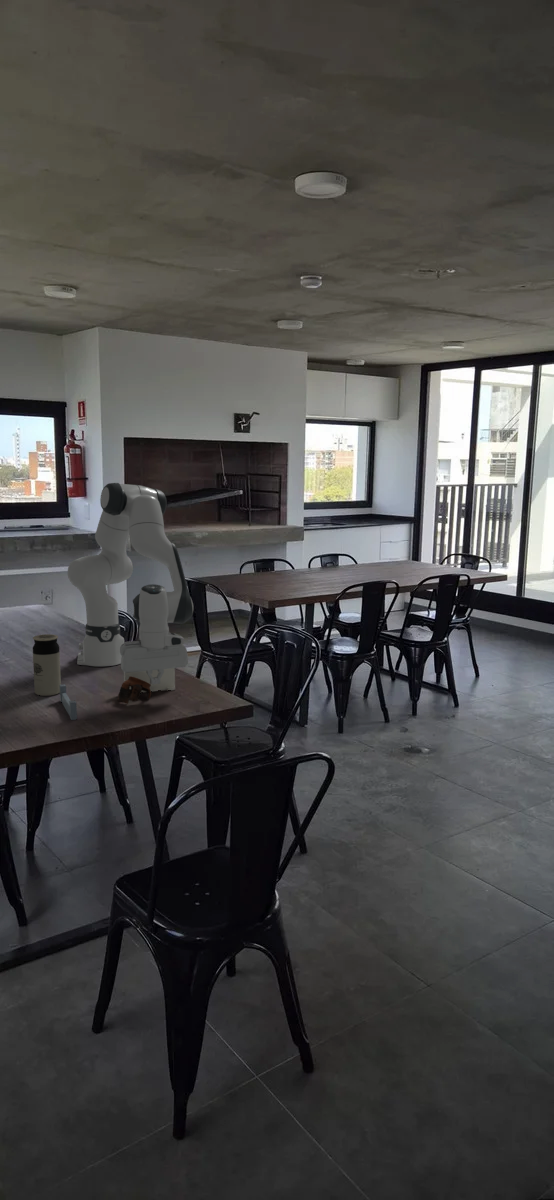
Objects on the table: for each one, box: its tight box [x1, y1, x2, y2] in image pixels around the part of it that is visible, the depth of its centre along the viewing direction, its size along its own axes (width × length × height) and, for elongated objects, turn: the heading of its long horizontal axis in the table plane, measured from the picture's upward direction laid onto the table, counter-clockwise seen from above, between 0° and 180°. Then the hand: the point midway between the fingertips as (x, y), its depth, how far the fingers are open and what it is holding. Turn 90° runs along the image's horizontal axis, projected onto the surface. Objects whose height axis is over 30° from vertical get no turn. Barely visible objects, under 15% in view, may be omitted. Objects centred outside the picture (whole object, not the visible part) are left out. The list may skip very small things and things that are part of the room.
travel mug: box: [32, 633, 62, 697], centre depth 250 cm, size 8×8×18 cm
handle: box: [59, 683, 78, 721], centre depth 235 cm, size 20×2×5 cm, turn 24°
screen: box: [123, 668, 176, 693], centre depth 254 cm, size 4×16×10 cm, turn 113°
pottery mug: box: [117, 676, 152, 705], centre depth 244 cm, size 12×10×8 cm
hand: (155, 683), depth 244 cm, fingers closed
